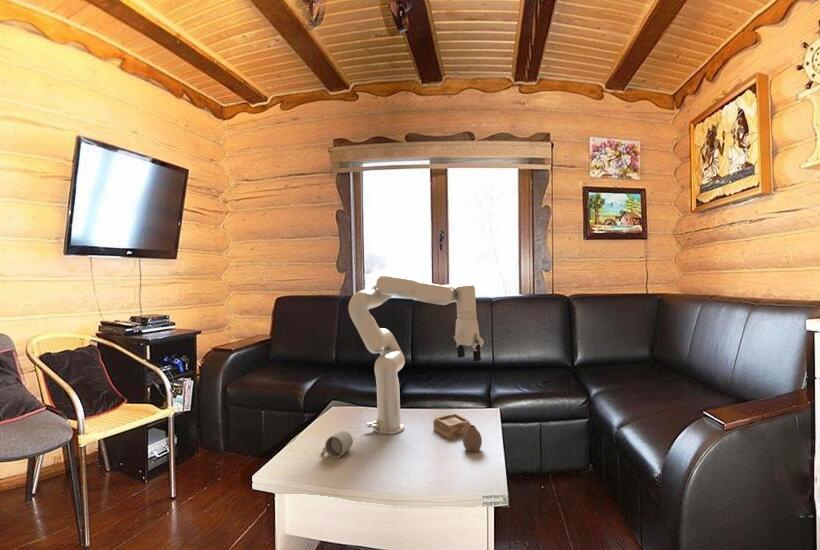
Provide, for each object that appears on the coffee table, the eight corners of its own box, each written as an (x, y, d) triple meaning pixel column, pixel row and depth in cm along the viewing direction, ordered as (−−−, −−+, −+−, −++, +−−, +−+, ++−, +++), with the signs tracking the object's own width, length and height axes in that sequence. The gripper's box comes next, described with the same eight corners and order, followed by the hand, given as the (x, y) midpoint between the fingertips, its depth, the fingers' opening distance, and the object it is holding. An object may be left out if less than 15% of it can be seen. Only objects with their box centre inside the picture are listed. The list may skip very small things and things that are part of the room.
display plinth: (448, 439, 159) (447, 426, 159) (433, 429, 168) (433, 417, 168) (471, 433, 164) (470, 421, 164) (455, 424, 173) (455, 412, 173)
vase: (470, 455, 144) (469, 431, 144) (459, 448, 150) (458, 424, 150) (486, 451, 147) (485, 427, 147) (474, 444, 153) (473, 421, 153)
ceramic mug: (354, 450, 151) (354, 429, 151) (343, 459, 144) (342, 438, 144) (330, 446, 155) (329, 426, 155) (317, 455, 147) (317, 434, 147)
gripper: (446, 315, 166) (448, 357, 166) (473, 318, 151) (476, 364, 151) (460, 313, 170) (462, 354, 170) (488, 316, 155) (491, 361, 155)
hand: (469, 359), depth 161 cm, fingers open, 9 cm apart
